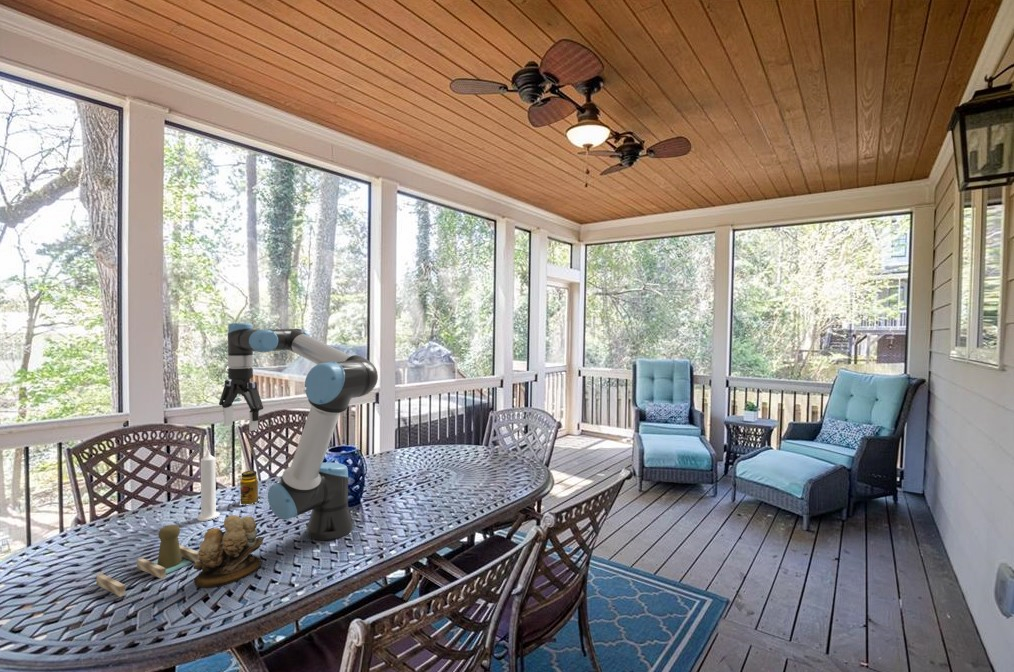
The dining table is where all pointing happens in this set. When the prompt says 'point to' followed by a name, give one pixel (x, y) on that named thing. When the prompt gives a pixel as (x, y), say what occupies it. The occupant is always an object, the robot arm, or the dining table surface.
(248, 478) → the condiment
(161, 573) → the notched rack
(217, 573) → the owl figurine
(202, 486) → the candle
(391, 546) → the dining table surface
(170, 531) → the olive pawn
